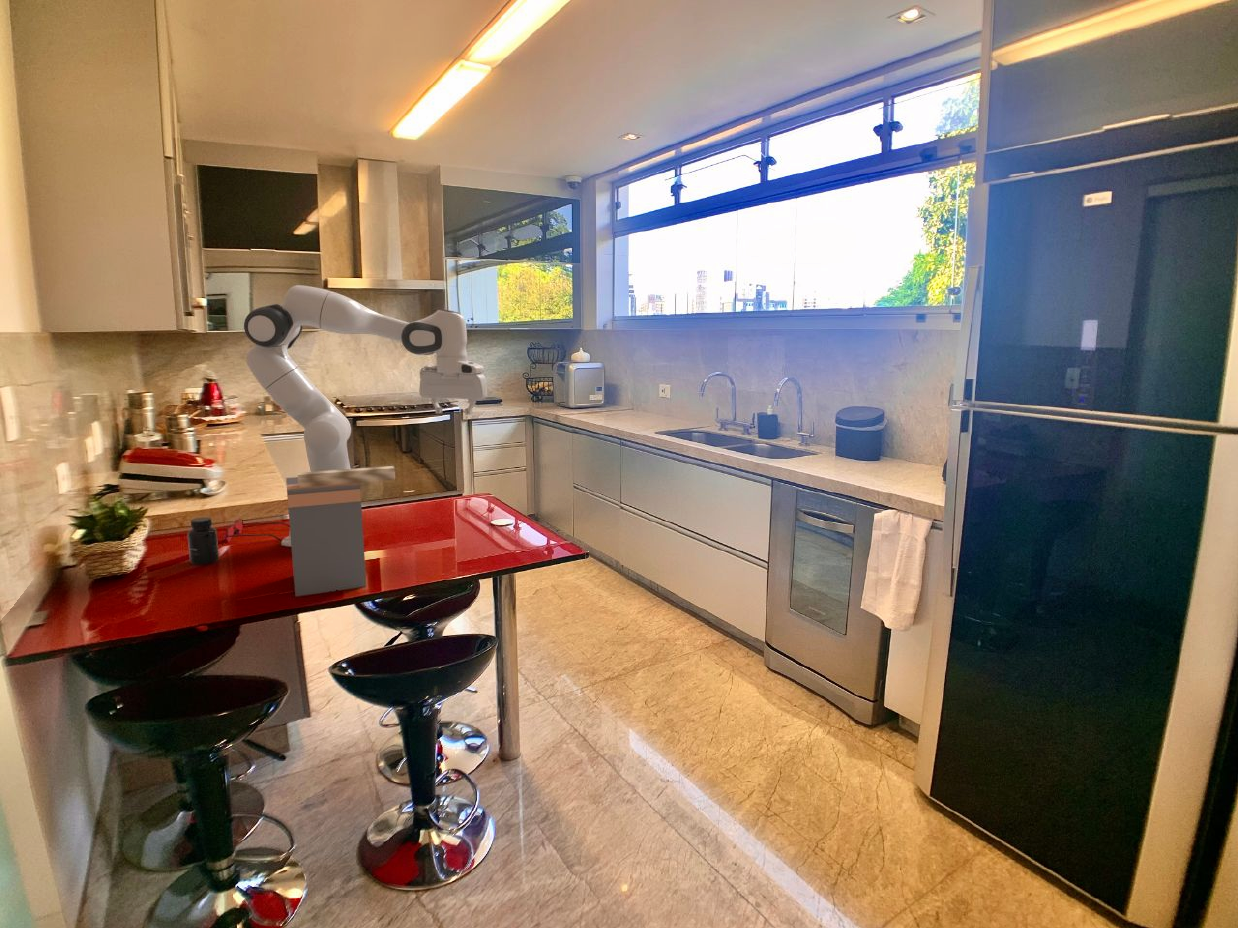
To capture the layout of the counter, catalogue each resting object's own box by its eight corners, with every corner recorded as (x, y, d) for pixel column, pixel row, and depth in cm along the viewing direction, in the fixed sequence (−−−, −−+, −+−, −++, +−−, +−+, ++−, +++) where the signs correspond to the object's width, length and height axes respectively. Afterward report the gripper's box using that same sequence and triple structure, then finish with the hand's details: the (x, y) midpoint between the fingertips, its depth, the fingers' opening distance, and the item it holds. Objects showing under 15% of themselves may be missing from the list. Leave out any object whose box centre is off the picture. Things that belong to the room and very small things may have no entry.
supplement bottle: (186, 566, 182) (181, 523, 180) (195, 558, 188) (190, 516, 186) (215, 564, 184) (210, 521, 182) (222, 556, 190) (218, 515, 188)
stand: (359, 567, 183) (353, 472, 178) (366, 586, 169) (360, 484, 164) (293, 575, 176) (285, 477, 171) (295, 596, 162) (286, 490, 157)
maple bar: (393, 477, 172) (393, 465, 172) (395, 479, 170) (394, 467, 169) (298, 484, 163) (297, 472, 162) (298, 487, 160) (297, 474, 159)
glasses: (240, 531, 216) (238, 516, 215) (295, 529, 219) (294, 514, 218) (223, 544, 202) (222, 528, 201) (283, 542, 205) (281, 526, 204)
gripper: (414, 366, 197) (416, 413, 199) (480, 367, 193) (481, 416, 195) (424, 365, 203) (426, 411, 205) (489, 367, 199) (490, 413, 201)
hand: (453, 413), depth 200 cm, fingers open, 8 cm apart
